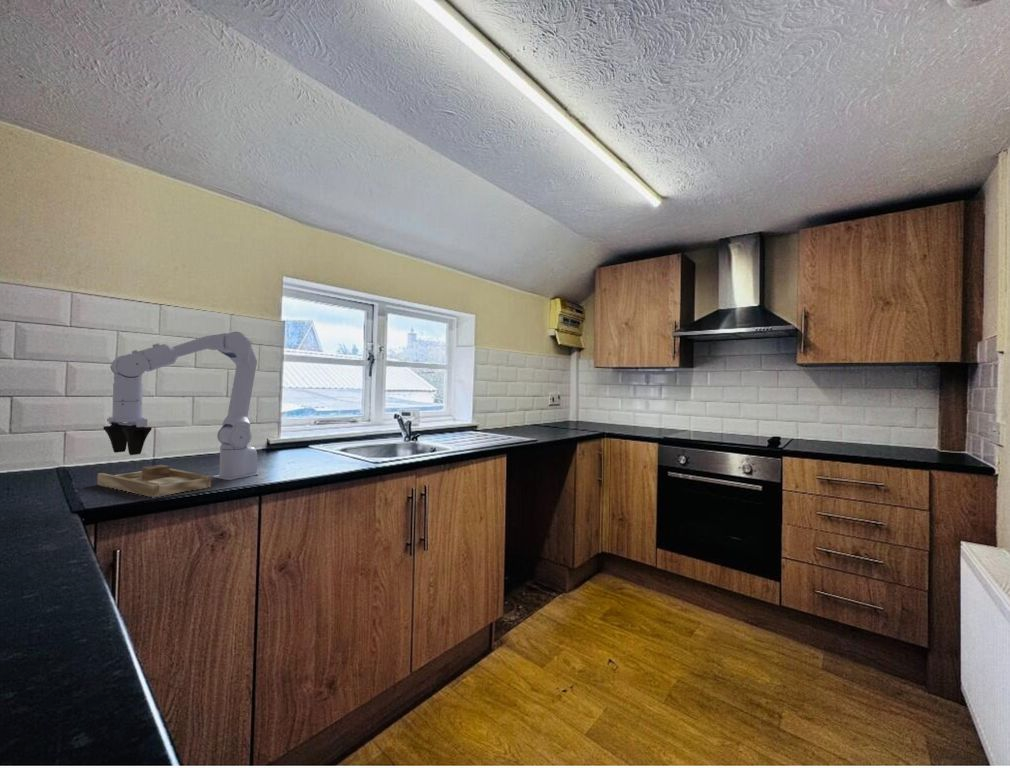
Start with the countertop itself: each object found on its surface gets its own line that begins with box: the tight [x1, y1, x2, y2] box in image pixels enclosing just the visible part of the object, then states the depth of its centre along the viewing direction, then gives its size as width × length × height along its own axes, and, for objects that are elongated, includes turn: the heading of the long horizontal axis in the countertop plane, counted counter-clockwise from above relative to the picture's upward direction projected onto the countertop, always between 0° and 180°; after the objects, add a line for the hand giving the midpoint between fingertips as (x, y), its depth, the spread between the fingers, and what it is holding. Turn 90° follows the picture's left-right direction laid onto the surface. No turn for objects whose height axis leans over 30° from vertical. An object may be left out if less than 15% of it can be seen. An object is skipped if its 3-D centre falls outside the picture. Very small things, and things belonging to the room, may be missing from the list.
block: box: [141, 464, 171, 480], centre depth 120 cm, size 4×4×3 cm
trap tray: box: [96, 467, 212, 497], centre depth 117 cm, size 13×28×3 cm, turn 64°
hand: (127, 453), depth 111 cm, fingers open, 7 cm apart
